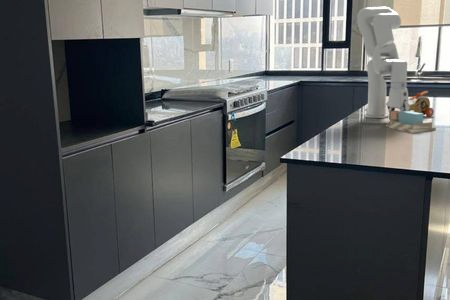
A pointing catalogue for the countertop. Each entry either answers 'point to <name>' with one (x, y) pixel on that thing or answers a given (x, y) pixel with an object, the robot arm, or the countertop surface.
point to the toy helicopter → (421, 104)
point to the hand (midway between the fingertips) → (397, 120)
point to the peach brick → (394, 114)
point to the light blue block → (410, 117)
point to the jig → (410, 126)
